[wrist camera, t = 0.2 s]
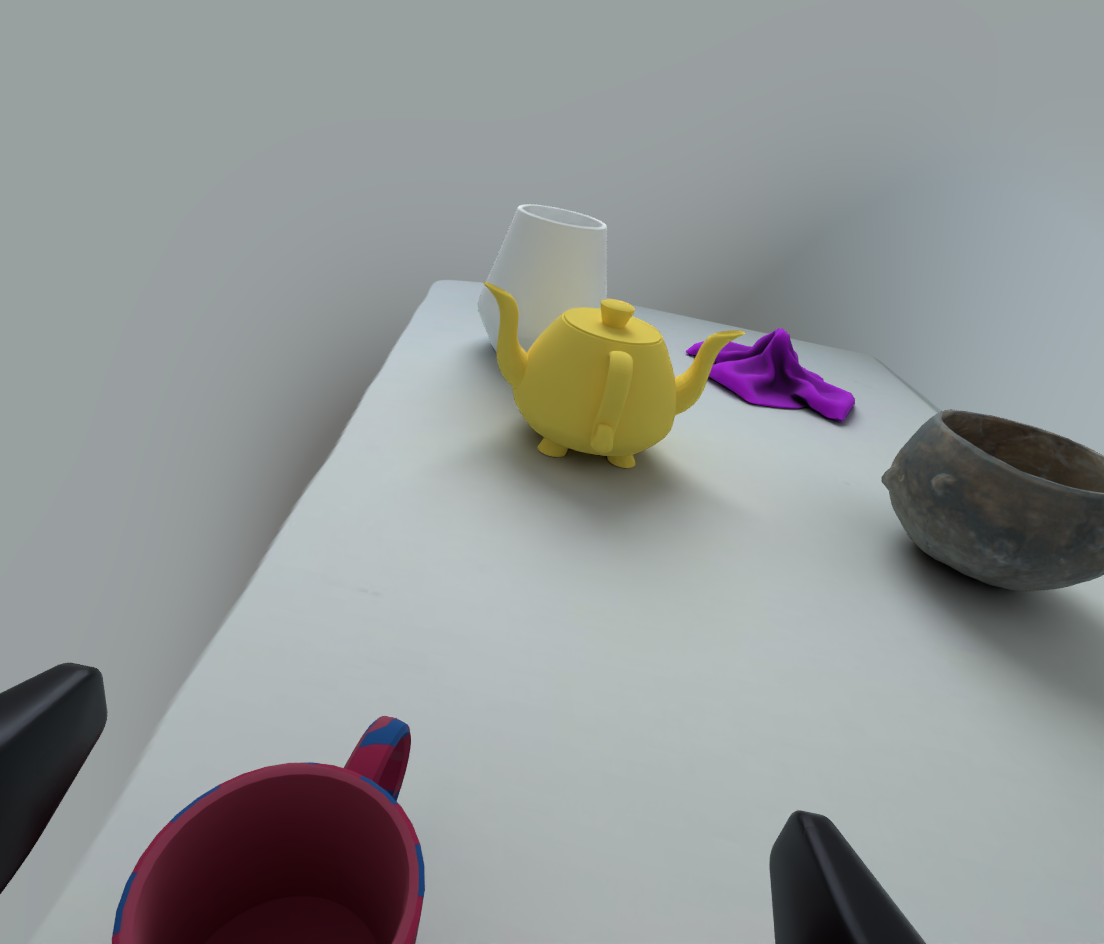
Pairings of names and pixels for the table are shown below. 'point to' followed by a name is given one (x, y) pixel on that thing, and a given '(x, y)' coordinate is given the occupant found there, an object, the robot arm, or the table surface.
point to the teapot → (599, 379)
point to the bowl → (1001, 501)
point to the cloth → (776, 377)
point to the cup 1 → (287, 858)
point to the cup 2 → (546, 269)
